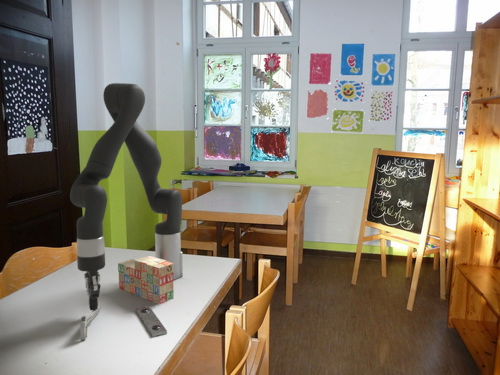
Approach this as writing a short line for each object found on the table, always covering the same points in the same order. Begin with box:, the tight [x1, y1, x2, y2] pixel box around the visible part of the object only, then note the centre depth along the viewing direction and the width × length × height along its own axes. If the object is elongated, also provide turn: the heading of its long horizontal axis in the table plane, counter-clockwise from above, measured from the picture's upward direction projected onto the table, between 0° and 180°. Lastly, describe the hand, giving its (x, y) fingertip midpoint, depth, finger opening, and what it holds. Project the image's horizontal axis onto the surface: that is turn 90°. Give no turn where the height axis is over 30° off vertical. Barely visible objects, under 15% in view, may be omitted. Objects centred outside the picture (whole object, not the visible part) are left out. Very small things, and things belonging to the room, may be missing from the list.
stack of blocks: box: [117, 255, 175, 305], centre depth 137 cm, size 21×6×12 cm, turn 53°
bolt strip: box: [135, 305, 168, 338], centre depth 118 cm, size 4×18×1 cm, turn 29°
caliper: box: [80, 305, 102, 341], centre depth 116 cm, size 20×1×6 cm, turn 9°
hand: (93, 308), depth 120 cm, fingers closed
